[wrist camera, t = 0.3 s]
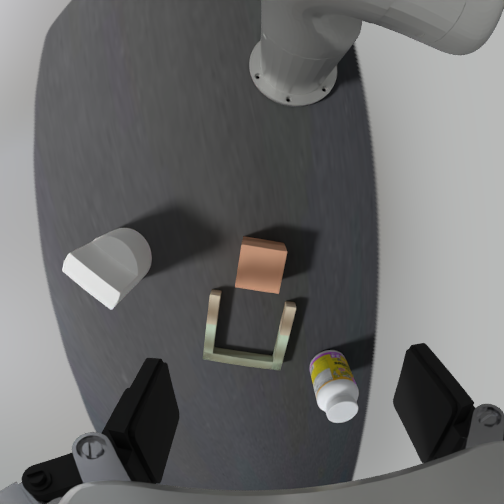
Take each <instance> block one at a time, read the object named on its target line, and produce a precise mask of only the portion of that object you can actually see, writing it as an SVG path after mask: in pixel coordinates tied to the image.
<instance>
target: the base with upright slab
mask: <svg viewBox="0 0 504 504" xmlns="http://www.w3.org/2000/svg"><path fill="white" fill-rule="evenodd" d="M151 262H152V255H151V250H150V247H149V244H148V243H147V241H146V240H145V238H144V237H143V236H142V235H141V234H140V233H139V232H137V231H135V230H133V229H130V228H118V229H116V230H113V231H111V232H109V233H107V234H105V235H102V236H100V237H98V238H96V239H95V240H94V241H92V242H90V243H88V244H86V245H84V246H82V247H80V248H78V249H76V250H74V251H73V252H71V253H69V254H68V255H67V257H66V259H65V261H64V264H63V268H62V271H63V272H64V273H65V274H67V275H68V276H69V277H70V278H71V279H72V280H74V281H75V282H76V283H77V284H79V285H80V286H81V287H82V288H83V289H85V290H86V291H87V292H88V293H90V294H91V295H92V296H94V297H95V298H96V299H97V300H99V301H100V302H101V303H103V304H104V305H105V306H107V307H108V308H109V309H111V310H112V309H113V308H114V307H115V306H116V305H117V304H118V303H119V302H120V301H121V300H122V299H123V298H124V297H125V296H126V295H127V294H128V293H129V292H130V291H131V290H132V288H133V287H134V286H135V285H136V284H137V283H138V282H139V281H140V280H141V279H142V278H143V277H144V276H145V275H146V274H147V273H148V271H149V269H150V267H151Z"/></svg>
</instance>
